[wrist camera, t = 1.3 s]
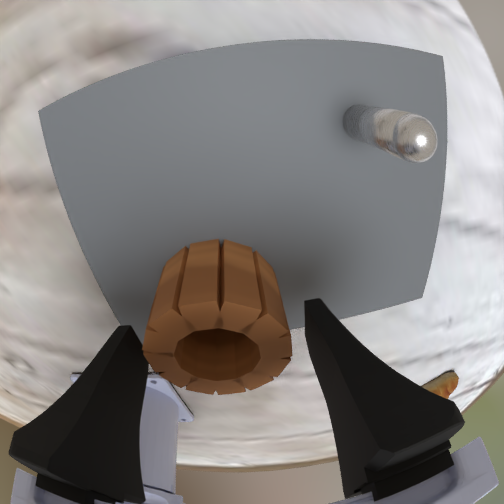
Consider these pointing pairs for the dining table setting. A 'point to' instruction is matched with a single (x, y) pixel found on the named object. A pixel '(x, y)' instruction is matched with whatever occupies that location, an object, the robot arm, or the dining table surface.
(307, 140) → the grey rectangular slab
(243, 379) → the bead
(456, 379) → the pastry
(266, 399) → the dining table surface
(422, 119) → the metal post
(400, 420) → the robot arm
